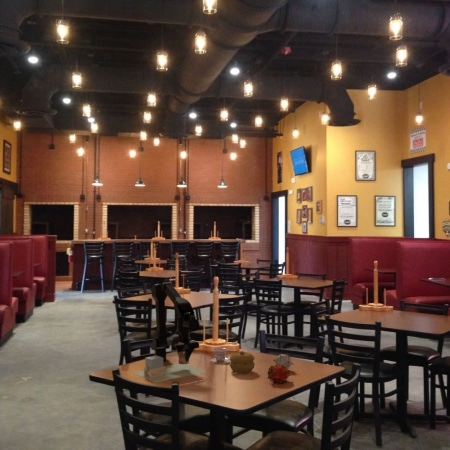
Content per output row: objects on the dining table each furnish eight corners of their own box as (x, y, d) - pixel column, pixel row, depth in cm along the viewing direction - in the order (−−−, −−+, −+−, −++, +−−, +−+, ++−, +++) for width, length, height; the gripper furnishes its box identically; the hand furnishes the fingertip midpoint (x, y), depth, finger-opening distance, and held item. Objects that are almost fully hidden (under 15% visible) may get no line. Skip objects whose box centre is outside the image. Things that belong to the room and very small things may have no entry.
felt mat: (131, 373, 246) (131, 372, 246) (182, 364, 263) (182, 363, 263) (154, 383, 228) (154, 382, 228) (207, 372, 245) (207, 371, 245)
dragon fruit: (265, 388, 224) (286, 387, 231) (277, 379, 219) (298, 379, 226) (260, 369, 229) (280, 369, 236) (271, 360, 224) (292, 360, 231)
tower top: (145, 366, 241) (145, 357, 242) (156, 364, 245) (156, 355, 245) (151, 368, 237) (151, 359, 237) (163, 366, 240) (163, 357, 240)
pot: (250, 368, 252) (250, 347, 252) (258, 374, 241) (257, 352, 241) (227, 370, 249) (226, 349, 250) (233, 376, 238) (233, 354, 238)
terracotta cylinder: (176, 362, 251) (176, 352, 251) (185, 361, 254) (185, 350, 254) (182, 364, 247) (182, 354, 247) (191, 363, 250) (190, 352, 250)
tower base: (144, 374, 241) (143, 366, 242) (157, 372, 246) (157, 363, 246) (151, 378, 236) (151, 369, 236) (164, 375, 240) (164, 366, 240)
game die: (283, 379, 245) (277, 365, 240) (274, 369, 252) (268, 355, 247) (298, 368, 247) (293, 354, 242) (289, 359, 255) (283, 344, 250)
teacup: (218, 358, 276) (217, 346, 276) (236, 360, 269) (236, 348, 269) (204, 362, 266) (203, 350, 266) (223, 365, 259) (222, 353, 259)
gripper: (158, 327, 253) (159, 359, 253) (179, 332, 238) (179, 367, 238) (178, 324, 260) (178, 356, 260) (199, 329, 245) (200, 363, 245)
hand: (183, 360), depth 250 cm, fingers closed on terracotta cylinder, 5 cm apart
